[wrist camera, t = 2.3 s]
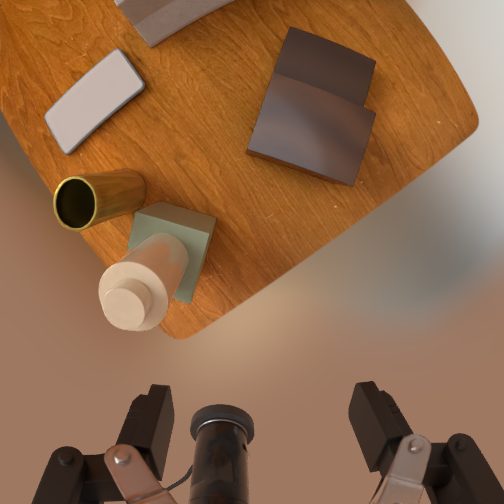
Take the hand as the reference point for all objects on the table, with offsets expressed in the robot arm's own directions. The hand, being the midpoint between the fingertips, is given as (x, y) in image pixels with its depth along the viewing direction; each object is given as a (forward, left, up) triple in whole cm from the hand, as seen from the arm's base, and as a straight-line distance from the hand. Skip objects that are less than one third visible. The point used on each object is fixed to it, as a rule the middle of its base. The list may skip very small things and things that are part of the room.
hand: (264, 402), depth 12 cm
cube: (-2, +9, -30) cm, 32 cm away
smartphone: (+13, +27, -30) cm, 42 cm away
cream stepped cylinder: (-2, +9, -20) cm, 22 cm away
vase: (+2, +18, -30) cm, 35 cm away
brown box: (+20, -2, -30) cm, 36 cm away
